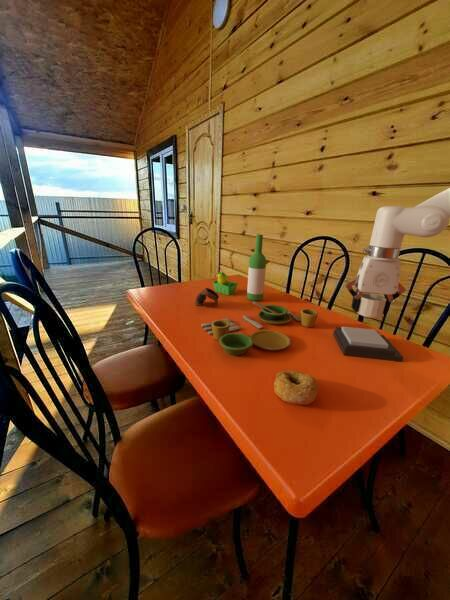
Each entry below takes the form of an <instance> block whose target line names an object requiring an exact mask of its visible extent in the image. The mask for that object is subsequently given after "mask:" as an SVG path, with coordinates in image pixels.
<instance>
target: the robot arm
mask: <svg viewBox="0 0 450 600" xmlns="http://www.w3.org/2000/svg"><path fill="white" fill-rule="evenodd" d="M449 224H450V187H449V188H447V189H445V190H442V191H441V192H439V193H437V194H435V195H433V196H431V197H429V198H428V199H426V200H424V201H423V202H421V203H419V204H417V205H415V206H413V207H407V206H402V205H400V206H399V205H384V206H381V207H379V208H378V210H377V211H376V214H375V218H374V223H373V228H372V232H371V235H370V240H369V241H370V243H369V245H368V246H367V247H363V248H362V253H363V254H364V253H365V254H366V255H364V257H363V259H362V260H361V263H360V266H359V269H358V271H357V274H356V275H357V276H356V277H355V278H353V279H351V280H349V281H347V282H346V283H345V284H344V286H345V288H346V289H347V291H348V293H349V294H350V295H351V296H352V301H351V305H350V308H351V309H352V310H353V312H355V313H357V312H358V309H359V305H360V299H359V298H360V296H361V295H362V294H363V293H370V294H376V295H383V297H385V298H386V303H385V307H384V311H383V315H384V316H386V315H388V312H389V311H390V307H391V303H393V302H394V300H396V299H397V298H399V297H400V296H401V295H402V294H404V293H405V292H406V291H407V289H406V288H405V287H404V285H402V284H401V283H400V278H401V270H402V269H401V268H402V260H401V259H399V257H400V256H399V255H400V252H401V249H402V245H403V241H404V237H405V235H408V236H412V237H413V236H414V237H419V238H431V237H436V236H438V235H440V234H441V233H442V232H444V231H445V230H446V229H447V228H448V226H449ZM353 286H355V288H356V289H355V290H354V289H353Z"/></svg>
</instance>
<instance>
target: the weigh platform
mask: <svg viewBox="0 0 450 600" xmlns="http://www.w3.org/2000/svg"><path fill="white" fill-rule="evenodd" d="M341 328H342V329H341V331H342V333H343V334H344V336H345V338H346V339H347V341H348V343H349V344H350V345H358V346H367V347H377V348H386V349H388V346H389V345H388V344H387V343H386V341H385V340H384V339H383V338H382V337H381V336H380V335H381V334H380V333H379V334H380V335H379V334H378V332H379V331H378V330H377V329H372V328H363V327H361V328H360V327H352V326H351V327H350V326H341ZM377 331H378V332H377Z"/></svg>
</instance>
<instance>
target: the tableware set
mask: <svg viewBox="0 0 450 600" xmlns="http://www.w3.org/2000/svg"><path fill="white" fill-rule="evenodd" d="M252 304H253V305H255V306H257V307H259V308H260V309H261V311H259V312H258V313H257V318H258V319H259V320H260V321H261V322H263V323H265V324H268V325H274V326H280V325H286V324H288V323H290V322H291V320H292V318H293V320H294V321H297V322H300V323H301V326H303V327H306V328H313V327H314V326H315V324H316V322H317V321H316V320H317V318H318V314H319V312H318V311H317V310H315V309H312V308H303V309H301V310H300V316H299V315H296V314H295V313H293V312H291V311H290V310H288V309H287V308H286V307H284V306H283V305H282V306H281V305H277V304H266V305H263V304H261V303H259V302H258V301H252ZM242 318H243V319H244V320H245V321H247V322H248V323H250V324H251V325H253V326H254V327H255V328H257V329H258V330H256V331H254V332H252V333H251V334H250V335H248V334H245V333H240V332H236V331H239V330H240V326H239V325H237V324H236V323H235V322H233V321H232V319H230V318H222V319H216V320H213V321H212V322H205V323H201V324H200V327H201V328H203V331H204V332H206V331H207V335H209V336H210V335H212V336H213V339H214V340H216V341H218V342H219V344H220V346H221V347H222V348H223V349H224V351H225V352H226V354H228V355H231V356H234V357H235V356H242V355H244V354H246V353H247V352H248V351H249V349H250V348H252V346H253V345H254V346H255V347H257V348H258V349H261V350H264V351H270V352H278V351H283V350H285V349H287V348H289V346H290V345H291V344H292V341H291V338H290V337H289V336H288V335H286V334H285V333H283V332H281V331H277V330H273V329H263V328H264V325H263V324H261V323H260V322H259V321H257V320H254V319H251V317H250V316H249V317H248V316H247V315H245V314H243V315H242Z"/></svg>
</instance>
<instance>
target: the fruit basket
mask: <svg viewBox="0 0 450 600" xmlns="http://www.w3.org/2000/svg"><path fill="white" fill-rule="evenodd" d="M212 285H213V289H214V292H216V293H219V294H222V295H223V294H224V295H227V296H230V295H233V294H235V293H236V290H237V287H238V285H239V283H237V282H234V281H231V280H230V281H229V276H228V275H227V274H226V273H225V272H224V271H219V272H218V274H217V280H215V281H212Z"/></svg>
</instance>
